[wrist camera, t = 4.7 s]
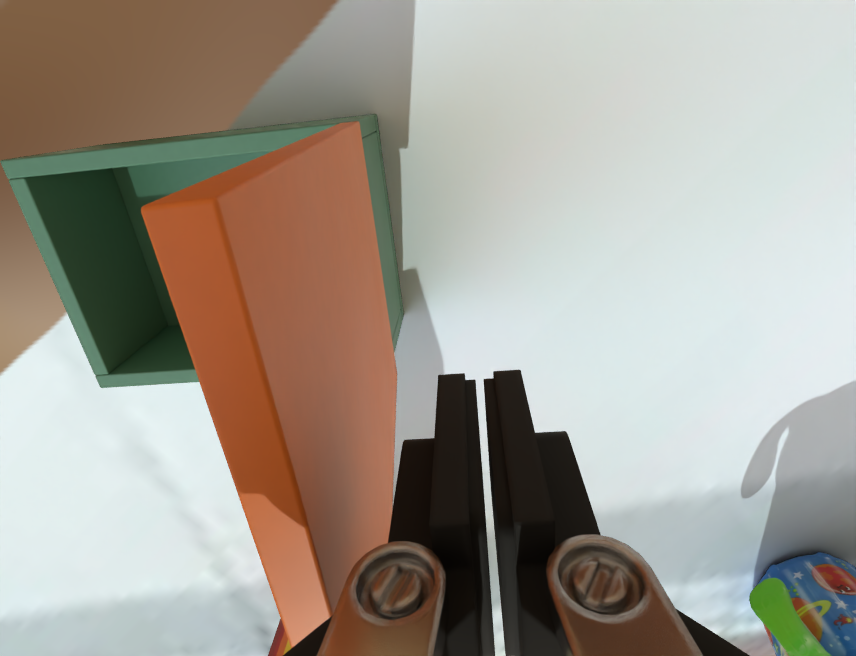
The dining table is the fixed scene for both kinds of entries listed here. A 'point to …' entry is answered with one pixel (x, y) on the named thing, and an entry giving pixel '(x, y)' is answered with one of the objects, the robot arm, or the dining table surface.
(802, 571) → the snack cup
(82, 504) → the dining table surface
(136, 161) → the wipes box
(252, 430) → the lid
